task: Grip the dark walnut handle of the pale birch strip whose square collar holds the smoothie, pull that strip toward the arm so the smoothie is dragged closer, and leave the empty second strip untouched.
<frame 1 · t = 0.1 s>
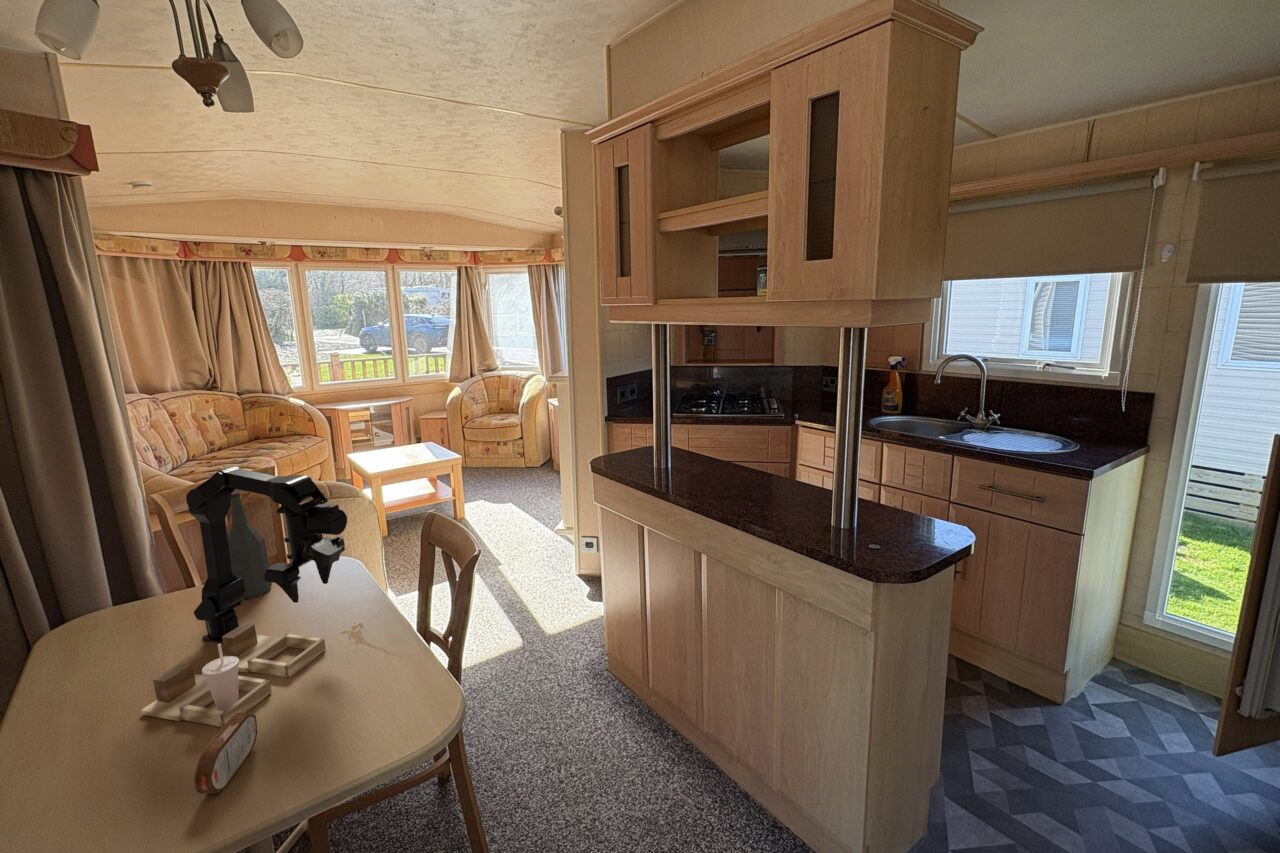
hand: (311, 592, 141), 15 cm above the table, tool pointing down, fingers open, 9 cm apart
strip a: (207, 689, 124), point 3 cm above the table, slide at 0.0 cm
strip b: (269, 646, 139), point 3 cm above the table, slide at 0.0 cm
bottle: (251, 592, 172), on the table
smoothie: (228, 707, 124), resting in strip a
tin: (232, 771, 107), on the table
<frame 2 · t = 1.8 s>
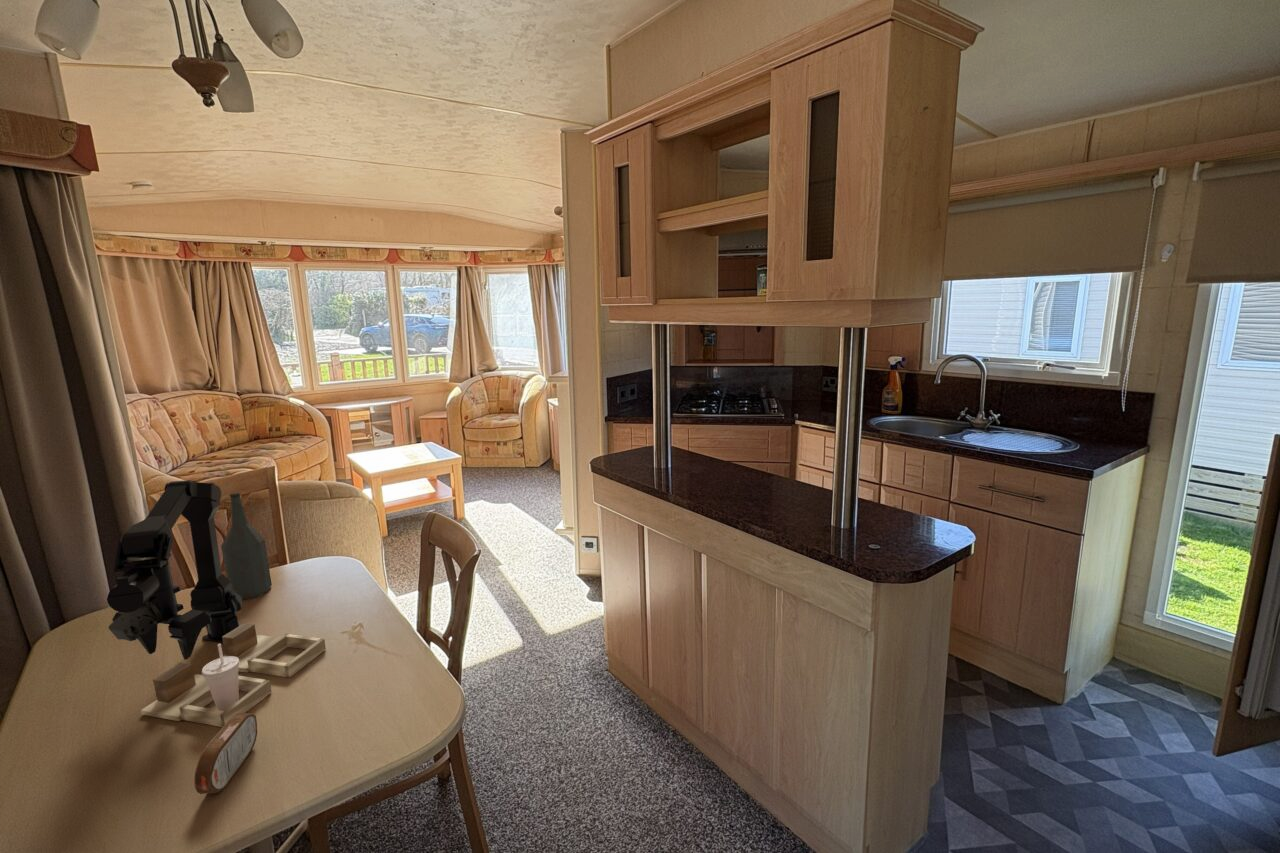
hand: (169, 655, 125), 10 cm above the table, tool pointing down, fingers open, 9 cm apart
nothing on the table moved.
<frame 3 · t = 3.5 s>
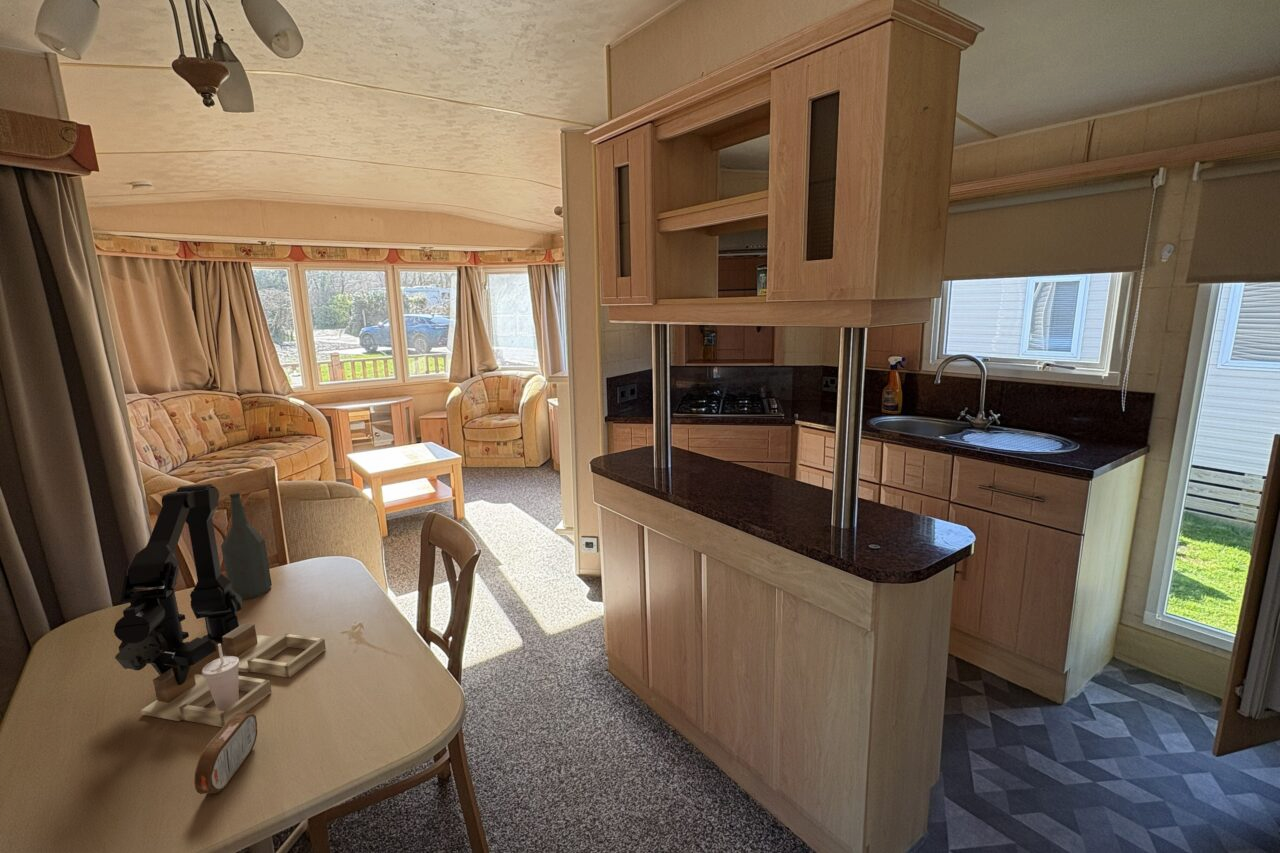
hand: (175, 682, 126), 4 cm above the table, tool pointing down, fingers closed on strip a, 3 cm apart
strip a: (207, 689, 124), point 3 cm above the table, slide at 0.0 cm, touching gripper
everything else where it was.
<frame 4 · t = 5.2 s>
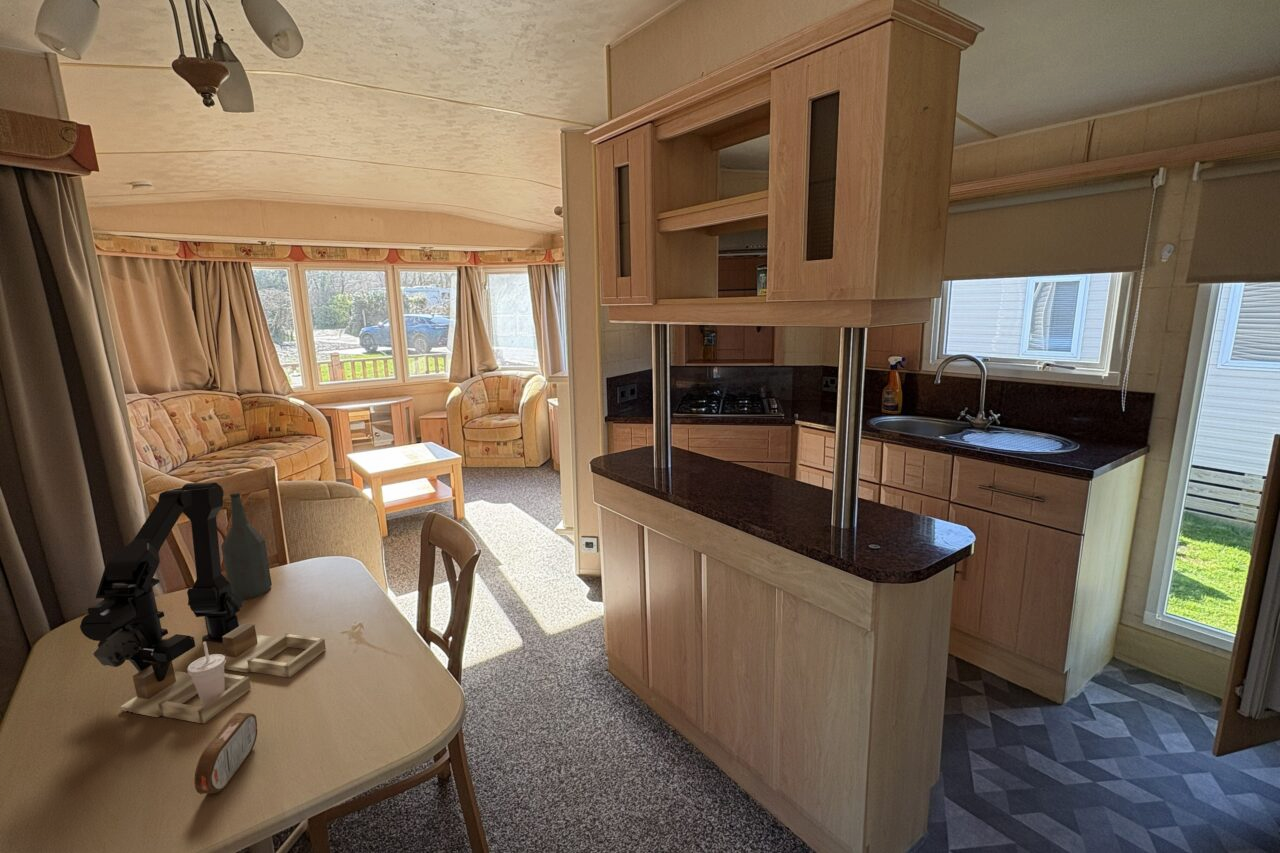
hand: (154, 679, 127), 3 cm above the table, tool pointing down, fingers open, 3 cm apart
strip a: (186, 686, 125), point 3 cm above the table, slide at 5.4 cm, touching gripper, smoothie
smoothie: (214, 704, 125), resting in strip a
everything else where it was.
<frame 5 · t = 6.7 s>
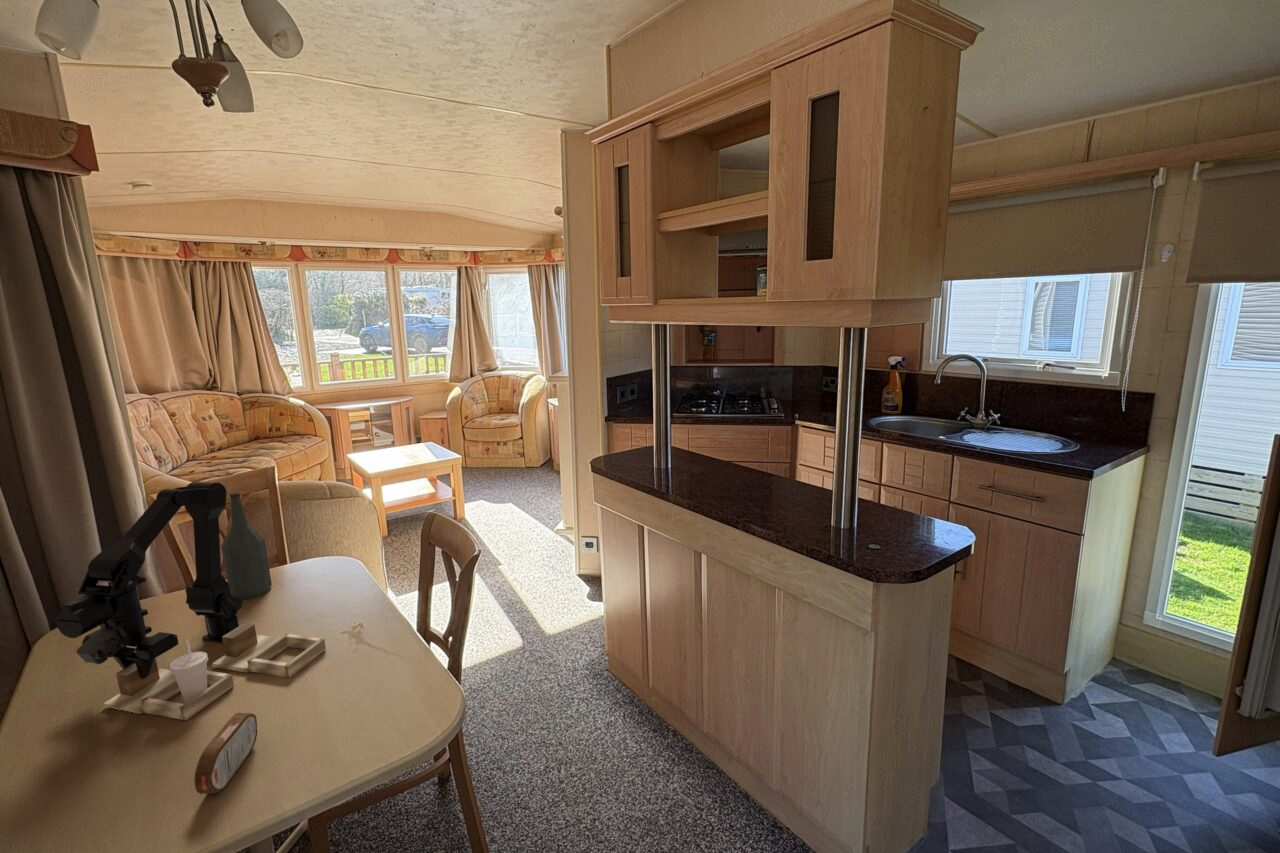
hand: (138, 676, 128), 4 cm above the table, tool pointing down, fingers closed on strip a, 3 cm apart
strip a: (169, 683, 126), point 3 cm above the table, slide at 9.8 cm, touching gripper, smoothie
smoothie: (197, 701, 125), resting in strip a
everything else where it was.
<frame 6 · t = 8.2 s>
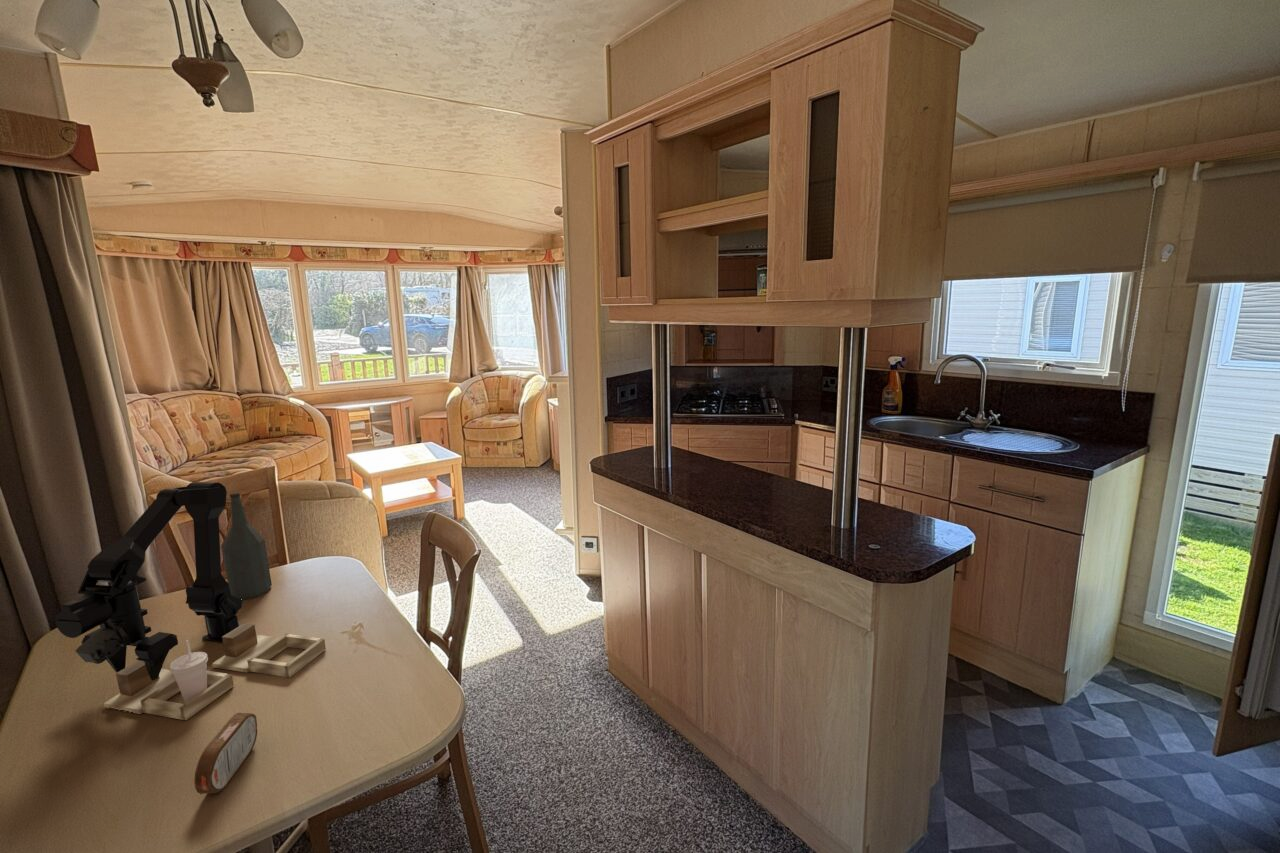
hand: (137, 676, 128), 4 cm above the table, tool pointing down, fingers open, 9 cm apart
strip a: (169, 683, 126), point 3 cm above the table, slide at 9.9 cm
smoothie: (196, 701, 126), resting in strip a
everything else where it was.
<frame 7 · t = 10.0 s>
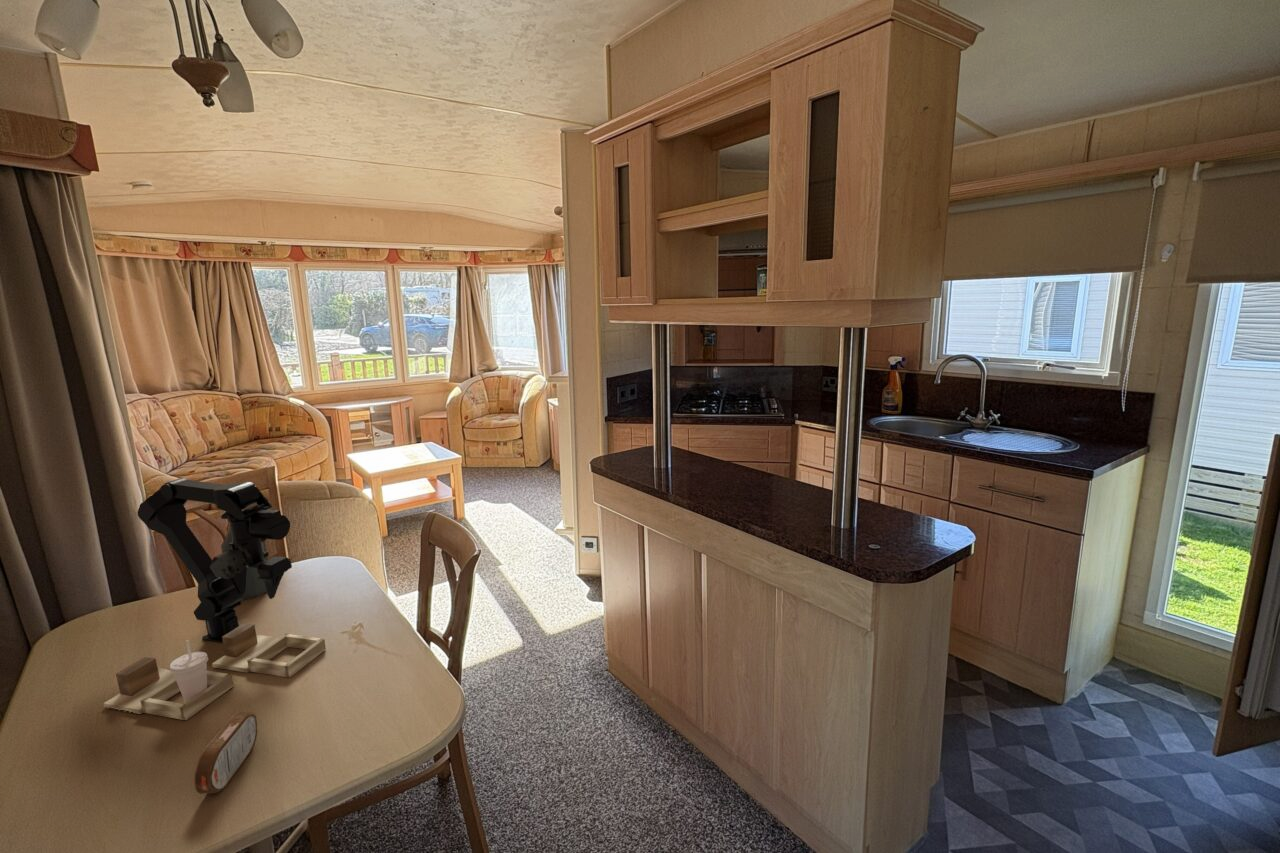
hand: (257, 595, 145), 12 cm above the table, tool pointing down, fingers open, 9 cm apart
nothing on the table moved.
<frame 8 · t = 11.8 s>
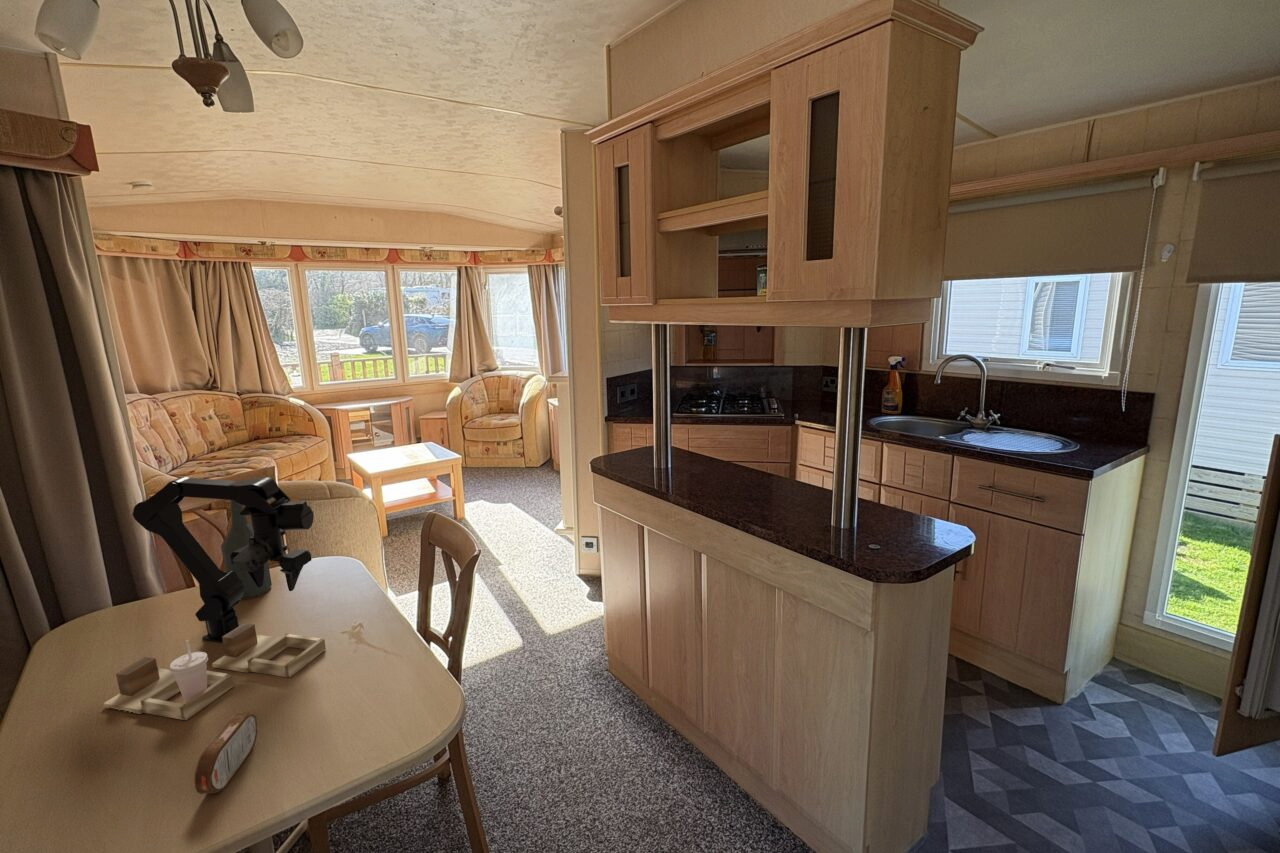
hand: (276, 588, 148), 12 cm above the table, tool pointing down, fingers open, 9 cm apart
nothing on the table moved.
at the end: smoothie inside the target area (1.0 cm from its centre), resting in strip a; smoothie tilted 0°; strip b slide at 0.0 cm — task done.
